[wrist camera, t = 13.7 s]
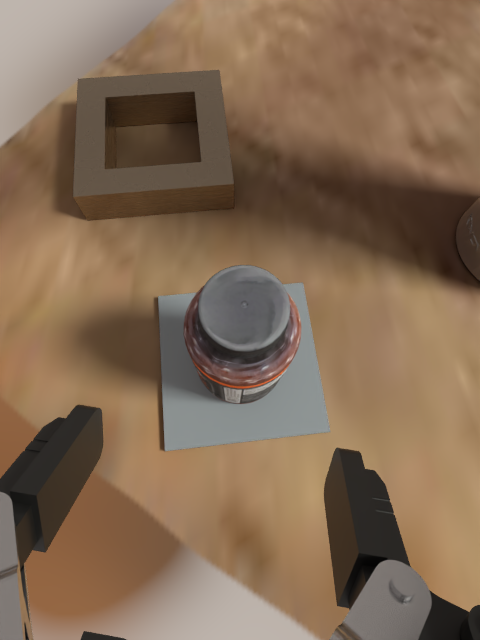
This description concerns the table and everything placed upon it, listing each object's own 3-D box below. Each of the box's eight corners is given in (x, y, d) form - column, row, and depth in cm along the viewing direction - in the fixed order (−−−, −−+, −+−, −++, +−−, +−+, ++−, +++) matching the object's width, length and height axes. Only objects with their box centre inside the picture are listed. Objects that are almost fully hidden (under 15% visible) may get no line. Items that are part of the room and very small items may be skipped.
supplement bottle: (188, 336, 27) (159, 260, 17) (266, 313, 28) (286, 227, 17) (210, 417, 25) (193, 391, 15) (293, 391, 26) (335, 348, 15)
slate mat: (302, 284, 29) (303, 282, 29) (329, 432, 26) (330, 431, 25) (159, 298, 29) (158, 296, 28) (165, 451, 25) (164, 450, 25)
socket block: (220, 100, 35) (219, 69, 33) (233, 208, 31) (234, 183, 29) (90, 109, 35) (77, 78, 32) (87, 220, 31) (73, 196, 28)
